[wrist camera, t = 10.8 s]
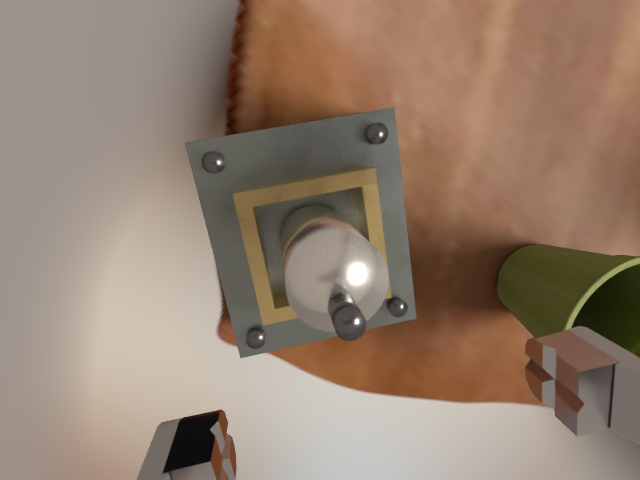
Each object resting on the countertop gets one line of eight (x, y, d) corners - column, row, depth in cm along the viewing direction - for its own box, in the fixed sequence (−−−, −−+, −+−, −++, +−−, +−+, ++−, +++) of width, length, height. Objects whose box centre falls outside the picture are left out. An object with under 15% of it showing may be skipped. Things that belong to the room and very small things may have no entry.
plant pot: (453, 315, 36) (532, 387, 25) (506, 204, 34) (617, 230, 23) (547, 345, 39) (655, 422, 28) (602, 243, 36) (744, 284, 26)
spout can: (273, 212, 25) (276, 257, 14) (343, 199, 26) (396, 232, 15) (287, 279, 26) (299, 365, 16) (354, 265, 27) (409, 339, 16)
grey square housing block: (201, 143, 29) (175, 142, 21) (370, 115, 30) (407, 102, 22) (245, 321, 33) (237, 378, 25) (391, 290, 34) (430, 334, 26)
